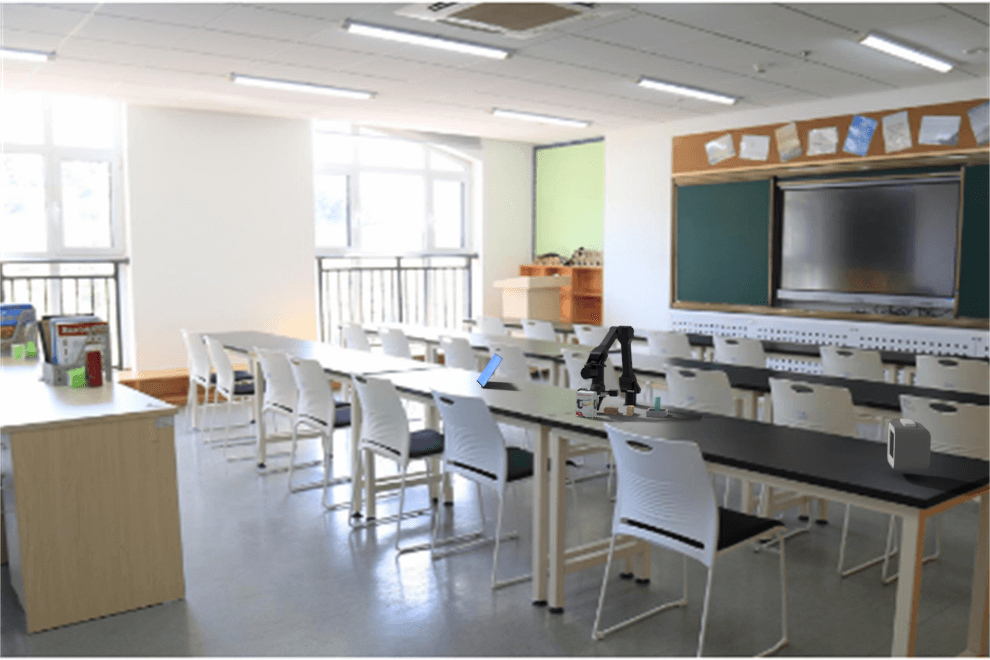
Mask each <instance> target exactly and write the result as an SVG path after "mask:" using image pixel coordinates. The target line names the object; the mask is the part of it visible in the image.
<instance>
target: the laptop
mask: <svg viewBox="0 0 990 660" xmlns="http://www.w3.org/2000/svg"><path fill="white" fill-rule="evenodd" d="M503 359H504V358H503V357H502V356H500V355H499V354H497V353H494V354H493V356H492V357H491V359H490V360H489V362H488V363H487V365H486V366H485V367H484V369H483V371H482V372H481V373H480V375H479V376H478V378H477V379H476V382H478V383H479V384H480V385H481V387H480V388H481V389H482V388H483V389H484V387H485V386H486V385H487V383H488V382H489V380H490V379H491V378H492V376H493V374H494V373H495V371H496V370H497V369H498V367H499V365H500V364H501V362H502V361H503ZM478 383H477V384H478ZM479 384H478V385H479ZM480 385H479V386H480Z"/></svg>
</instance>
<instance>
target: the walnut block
mask: <svg viewBox="0 0 990 660" xmlns="http://www.w3.org/2000/svg"><path fill="white" fill-rule="evenodd" d="M603 414H604V415H615V416H617V415H618V414H619V407H618V406H605V407H603Z"/></svg>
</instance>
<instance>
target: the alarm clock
mask: <svg viewBox="0 0 990 660" xmlns="http://www.w3.org/2000/svg"><path fill="white" fill-rule="evenodd" d="M931 439H932V436H931V432H930V431H929V430H928V429H927V428H926V426H924V425H923V424H922V423H921V422H917V421H914V420H912V419H911V418H900V420H899V421H898V420H889V421H887V439H886V440H887V442H886V443H887V444H886V445H887V446H886V455H887V456H886V459H887V463H888V464H889V465H890V467H891V469H892V470H905V471H918V472H919V471H926V470H927V469H928V468H929V466H930V464H931V451H932V450H931V445H932V443H931V442H932V440H931Z"/></svg>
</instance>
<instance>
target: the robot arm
mask: <svg viewBox="0 0 990 660" xmlns="http://www.w3.org/2000/svg"><path fill="white" fill-rule="evenodd" d="M634 338H635V329H634V327H633V326H632V325H617V326H616V325H615V326H613V325H612V326H610V327H609V328H608V332H607V333H606V334H605V336H604V337H603V339H602V341H601V342H600V343H599V345H597V346H596V347H594V348H593V349H592V350H591V351H590V353H589V355H588V358H587V360H586V362H585V364H584V365H583V367H582V368H581V370H580V377H581V378H582V379H583V380H590V379H591V384H590V386H589V389H588V388H587V387H580V388H577V390H576V392H578V391H594V392H597V411H598V412H599V411H600V409H601V405H602V403H603V401H604V399H606V397H608V396H609V397H614V398H616V397H619V396H620V394H619V393H624V403H623V406H624V407H625V406H627V407H628V406H634V407H638V405H639V404H638V403H637V398H638V397H637V395H638V394H641V391H642V388H641V386H640V385H639V383H638V379H637V376H636V374H635V373H634V371H633V370H634V369H633V354H632V342H633V340H634ZM616 340H617V341H618V343H619V344H620V354H621V367H622V368H621V369H622V373H621V375H620V376H619V377H618V385H619V388H620V390H619V389H617V388H610V389H608V390H606V384H605V368H607V364H606V361H607V359H608V357H609V351H610V349H611V348H612V346H613V344H614V343H615V341H616ZM607 395H608V396H607Z"/></svg>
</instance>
